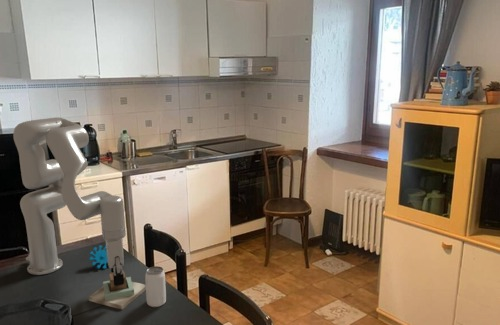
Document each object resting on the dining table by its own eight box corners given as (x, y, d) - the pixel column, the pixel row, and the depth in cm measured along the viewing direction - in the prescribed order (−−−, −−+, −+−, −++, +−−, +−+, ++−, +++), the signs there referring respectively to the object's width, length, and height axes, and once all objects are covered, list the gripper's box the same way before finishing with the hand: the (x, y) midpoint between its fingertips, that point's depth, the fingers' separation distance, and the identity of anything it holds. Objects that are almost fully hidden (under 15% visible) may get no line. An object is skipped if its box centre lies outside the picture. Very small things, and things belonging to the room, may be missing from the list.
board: (88, 300, 142) (88, 296, 141) (116, 281, 154) (115, 277, 154) (122, 309, 137) (121, 305, 136) (147, 288, 149) (147, 285, 149)
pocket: (105, 300, 139) (105, 295, 138) (103, 286, 147) (102, 281, 147) (134, 294, 143) (134, 289, 142) (130, 281, 151) (130, 276, 151)
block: (111, 295, 142) (110, 280, 140) (110, 288, 146) (109, 273, 145) (126, 292, 144) (125, 277, 142) (124, 285, 148) (123, 270, 147)
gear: (92, 269, 159) (88, 245, 164) (88, 275, 163) (84, 252, 168) (120, 265, 166) (115, 242, 170) (116, 271, 170) (111, 248, 174)
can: (145, 299, 143) (143, 267, 140) (164, 295, 145) (162, 264, 142) (148, 309, 137) (146, 276, 134) (168, 305, 139) (166, 272, 136)
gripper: (100, 224, 146) (104, 268, 150) (104, 244, 131) (108, 292, 135) (122, 221, 149) (125, 265, 153) (128, 240, 133) (132, 287, 138)
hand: (117, 277), depth 144 cm, fingers open, 9 cm apart
